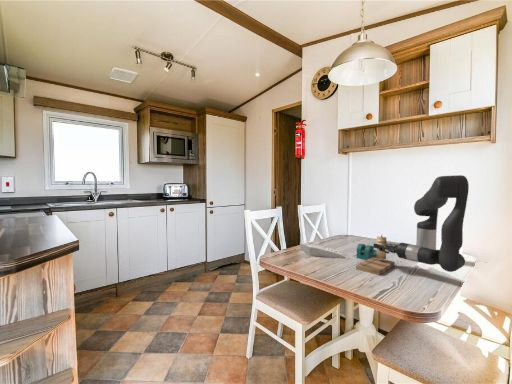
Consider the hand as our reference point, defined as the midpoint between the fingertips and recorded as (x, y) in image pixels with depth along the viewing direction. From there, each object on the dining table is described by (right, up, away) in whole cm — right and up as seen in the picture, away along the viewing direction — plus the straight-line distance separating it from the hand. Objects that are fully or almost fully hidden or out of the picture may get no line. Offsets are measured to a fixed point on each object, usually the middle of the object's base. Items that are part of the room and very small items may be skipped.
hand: (376, 244), depth 134 cm
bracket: (+2, -10, +13) cm, 16 cm away
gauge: (+1, -7, -2) cm, 7 cm away
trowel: (-25, -10, +18) cm, 32 cm away
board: (-4, -10, -6) cm, 12 cm away
